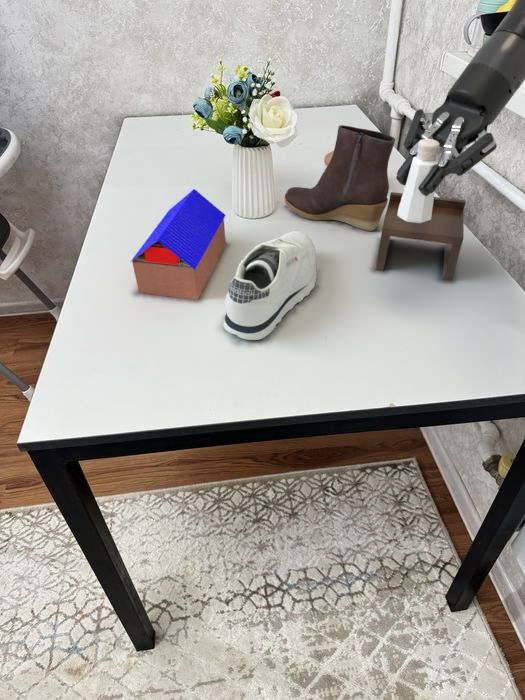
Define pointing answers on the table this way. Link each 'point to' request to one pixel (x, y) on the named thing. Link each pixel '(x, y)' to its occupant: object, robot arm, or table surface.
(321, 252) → the table surface
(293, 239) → the running shoe
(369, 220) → the boot
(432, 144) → the salt shaker
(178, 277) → the house
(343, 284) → the table surface
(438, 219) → the shelf
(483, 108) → the robot arm
